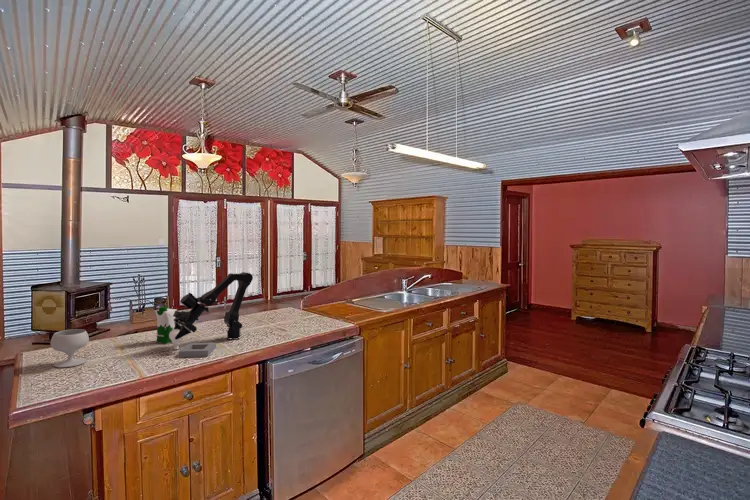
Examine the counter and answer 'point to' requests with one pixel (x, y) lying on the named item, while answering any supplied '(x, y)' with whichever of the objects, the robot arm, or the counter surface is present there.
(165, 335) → the milk carton
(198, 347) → the holder
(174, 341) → the lightbulb
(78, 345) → the chalice
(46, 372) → the counter surface
